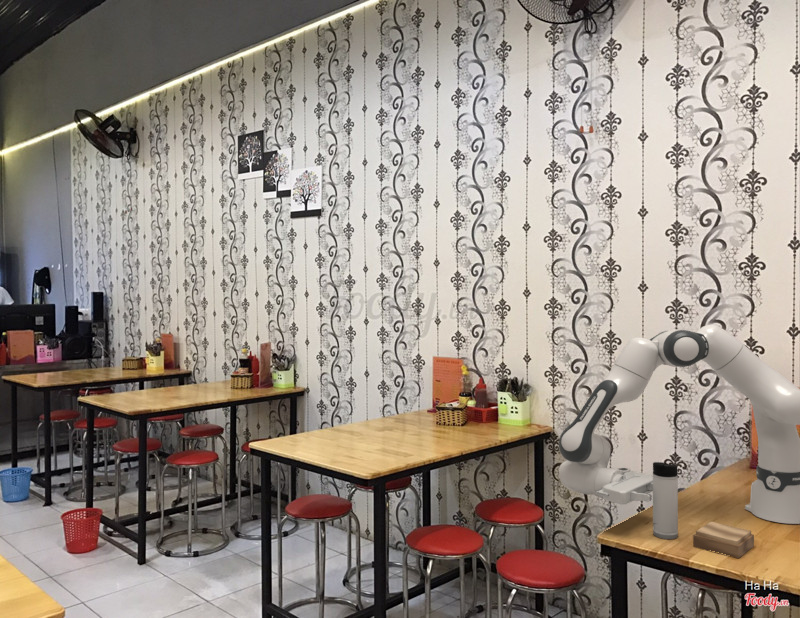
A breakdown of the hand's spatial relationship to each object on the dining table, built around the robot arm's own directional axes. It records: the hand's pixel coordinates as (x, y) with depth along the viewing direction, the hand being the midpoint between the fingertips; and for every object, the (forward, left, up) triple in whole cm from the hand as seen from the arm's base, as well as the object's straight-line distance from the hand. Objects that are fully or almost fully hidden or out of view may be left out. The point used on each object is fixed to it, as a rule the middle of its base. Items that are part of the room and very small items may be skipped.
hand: (658, 494), depth 177 cm
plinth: (-3, +16, -11) cm, 19 cm away
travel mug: (0, +2, -11) cm, 11 cm away
